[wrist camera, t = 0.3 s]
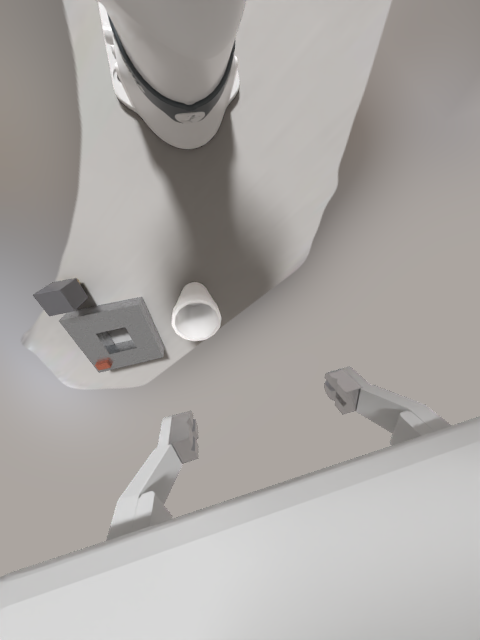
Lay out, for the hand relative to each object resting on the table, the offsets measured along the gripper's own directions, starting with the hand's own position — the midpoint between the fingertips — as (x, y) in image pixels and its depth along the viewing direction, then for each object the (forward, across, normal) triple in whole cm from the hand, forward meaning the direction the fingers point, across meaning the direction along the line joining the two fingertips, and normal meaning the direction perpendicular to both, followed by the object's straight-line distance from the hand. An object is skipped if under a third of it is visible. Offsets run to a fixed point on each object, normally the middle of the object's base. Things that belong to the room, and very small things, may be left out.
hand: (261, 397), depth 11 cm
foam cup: (+40, +6, +6) cm, 40 cm away
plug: (+38, +30, -2) cm, 48 cm away
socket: (+40, +26, +11) cm, 49 cm away
